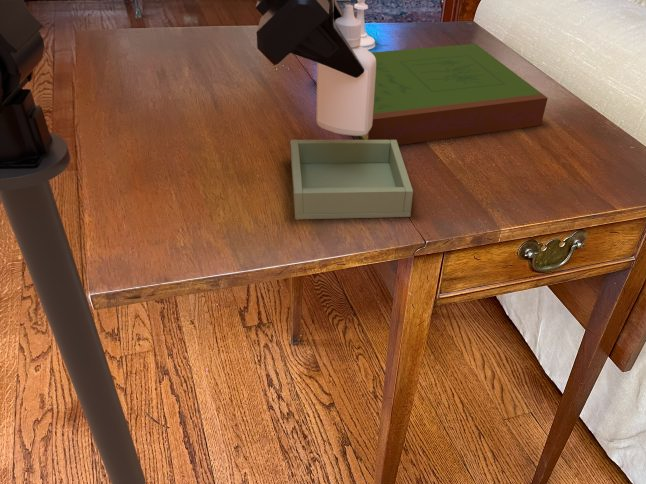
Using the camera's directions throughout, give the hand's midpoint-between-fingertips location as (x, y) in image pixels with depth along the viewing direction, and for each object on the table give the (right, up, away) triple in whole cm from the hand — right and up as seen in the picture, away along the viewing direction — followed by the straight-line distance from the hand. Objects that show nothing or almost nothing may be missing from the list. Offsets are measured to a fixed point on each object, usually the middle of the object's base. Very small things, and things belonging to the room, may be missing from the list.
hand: (360, 65), depth 62 cm
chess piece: (-3, +17, +38) cm, 42 cm away
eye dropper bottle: (-2, -5, +4) cm, 7 cm away
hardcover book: (+8, +3, +24) cm, 25 cm away
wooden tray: (-2, -11, +6) cm, 13 cm away
